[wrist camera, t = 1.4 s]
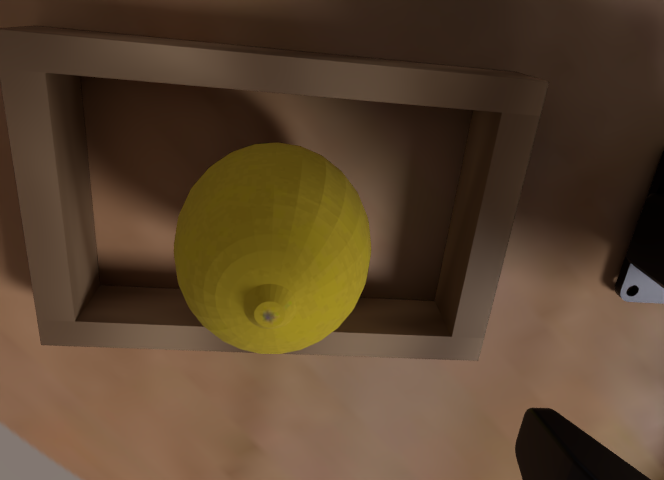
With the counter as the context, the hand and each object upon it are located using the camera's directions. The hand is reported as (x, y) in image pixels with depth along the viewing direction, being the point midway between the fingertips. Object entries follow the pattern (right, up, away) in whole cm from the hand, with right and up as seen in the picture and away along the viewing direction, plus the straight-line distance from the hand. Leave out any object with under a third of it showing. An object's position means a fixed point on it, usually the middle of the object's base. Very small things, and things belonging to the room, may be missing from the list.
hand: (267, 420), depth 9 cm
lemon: (-1, +5, +10) cm, 11 cm away
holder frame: (-1, +5, +10) cm, 11 cm away
